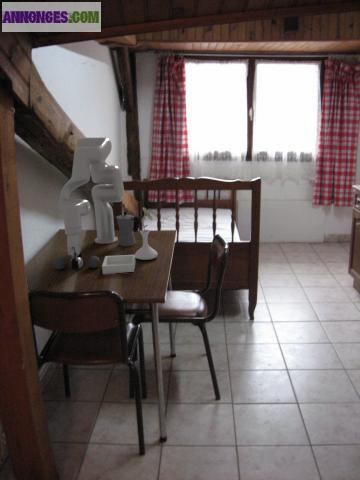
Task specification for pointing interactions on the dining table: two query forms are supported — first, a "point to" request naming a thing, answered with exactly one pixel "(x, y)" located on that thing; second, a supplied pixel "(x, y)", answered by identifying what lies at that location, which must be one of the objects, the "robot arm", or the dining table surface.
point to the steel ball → (79, 261)
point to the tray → (118, 264)
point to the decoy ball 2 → (94, 261)
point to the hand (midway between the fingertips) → (77, 265)
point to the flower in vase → (145, 243)
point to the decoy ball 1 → (59, 263)
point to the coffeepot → (127, 229)
